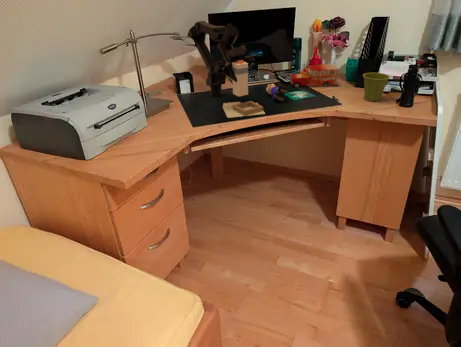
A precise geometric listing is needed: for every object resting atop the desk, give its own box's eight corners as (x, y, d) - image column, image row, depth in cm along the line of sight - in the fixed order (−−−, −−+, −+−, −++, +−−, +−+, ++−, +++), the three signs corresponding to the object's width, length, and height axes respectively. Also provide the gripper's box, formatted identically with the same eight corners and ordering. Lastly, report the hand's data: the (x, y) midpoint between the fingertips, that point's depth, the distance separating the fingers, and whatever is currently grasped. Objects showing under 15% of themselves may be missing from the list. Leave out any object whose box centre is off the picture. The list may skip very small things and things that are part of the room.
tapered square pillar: (232, 93, 161) (231, 60, 154) (242, 91, 164) (241, 58, 156) (238, 96, 158) (238, 62, 150) (248, 94, 160) (248, 60, 152)
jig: (222, 108, 166) (221, 102, 164) (257, 105, 168) (257, 98, 166) (227, 120, 153) (227, 113, 151) (265, 116, 155) (265, 109, 154)
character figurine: (276, 105, 168) (265, 96, 181) (290, 102, 169) (278, 93, 182) (275, 89, 164) (264, 81, 177) (289, 86, 165) (277, 78, 178)
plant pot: (384, 104, 162) (388, 80, 156) (357, 101, 167) (360, 77, 161) (387, 96, 171) (391, 73, 165) (361, 94, 176) (365, 71, 170)
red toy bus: (289, 83, 198) (290, 65, 193) (333, 81, 197) (335, 63, 192) (291, 88, 189) (292, 70, 184) (337, 87, 188) (340, 68, 183)
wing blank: (223, 106, 165) (223, 103, 164) (239, 104, 166) (239, 101, 165) (224, 108, 162) (224, 105, 162) (241, 106, 163) (241, 103, 163)
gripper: (215, 42, 148) (229, 73, 145) (251, 36, 156) (266, 66, 153) (207, 58, 158) (221, 88, 155) (242, 52, 166) (256, 80, 163)
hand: (241, 80), depth 156 cm, fingers closed on tapered square pillar, 5 cm apart
